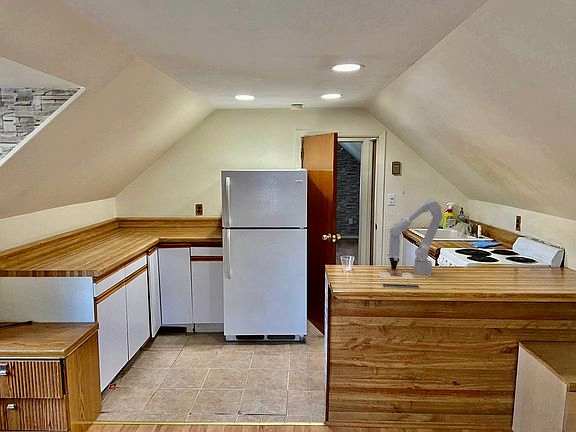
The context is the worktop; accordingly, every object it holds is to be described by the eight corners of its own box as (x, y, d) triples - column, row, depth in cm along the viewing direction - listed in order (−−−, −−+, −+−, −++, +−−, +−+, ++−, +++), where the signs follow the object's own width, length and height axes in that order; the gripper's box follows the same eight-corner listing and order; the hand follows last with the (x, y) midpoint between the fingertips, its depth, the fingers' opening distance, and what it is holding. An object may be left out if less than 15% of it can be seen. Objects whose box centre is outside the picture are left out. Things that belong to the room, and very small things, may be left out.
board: (409, 274, 241) (409, 272, 241) (414, 280, 228) (414, 278, 228) (378, 273, 243) (378, 271, 243) (380, 279, 230) (380, 277, 230)
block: (399, 273, 240) (399, 269, 240) (402, 276, 232) (402, 273, 232) (389, 272, 241) (389, 269, 241) (391, 276, 233) (391, 272, 233)
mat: (414, 280, 228) (414, 280, 228) (419, 288, 215) (419, 287, 215) (380, 279, 230) (380, 279, 230) (383, 287, 216) (383, 286, 216)
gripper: (385, 244, 250) (385, 266, 251) (389, 249, 235) (388, 273, 237) (398, 244, 249) (397, 267, 250) (402, 249, 234) (400, 273, 236)
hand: (393, 270), depth 244 cm, fingers closed
